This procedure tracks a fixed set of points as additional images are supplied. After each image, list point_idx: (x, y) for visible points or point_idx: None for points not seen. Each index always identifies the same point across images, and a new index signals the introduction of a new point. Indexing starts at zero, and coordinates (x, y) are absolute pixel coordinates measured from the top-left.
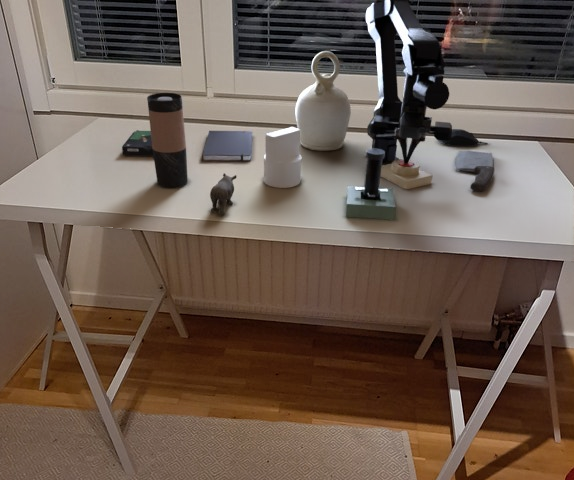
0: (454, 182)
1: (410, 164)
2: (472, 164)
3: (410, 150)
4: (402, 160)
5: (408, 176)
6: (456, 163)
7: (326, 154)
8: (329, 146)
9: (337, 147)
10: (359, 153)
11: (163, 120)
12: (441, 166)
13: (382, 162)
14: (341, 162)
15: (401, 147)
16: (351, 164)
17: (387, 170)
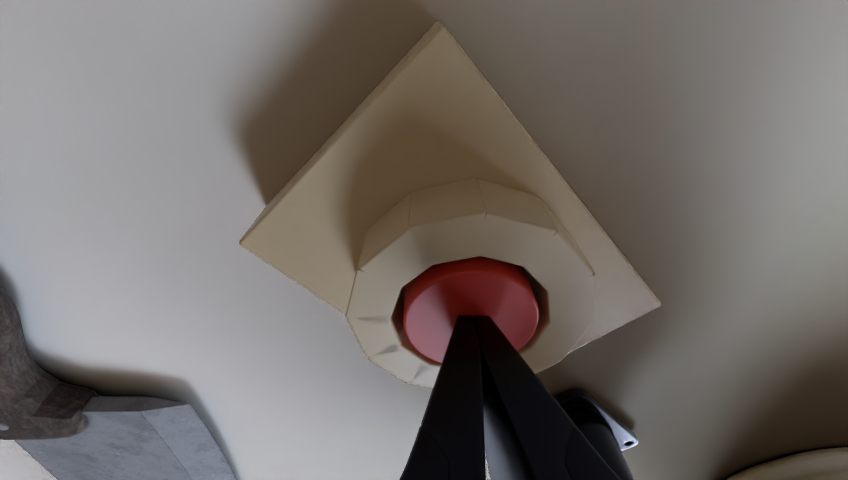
0: (134, 268)
1: (429, 306)
2: (125, 447)
3: (463, 443)
4: None
5: (432, 165)
6: (211, 448)
7: (828, 425)
8: (817, 474)
9: (754, 476)
10: (652, 455)
11: None
12: (277, 421)
13: (571, 397)
14: (794, 368)
15: (617, 478)
16: (745, 358)
17: (608, 250)
